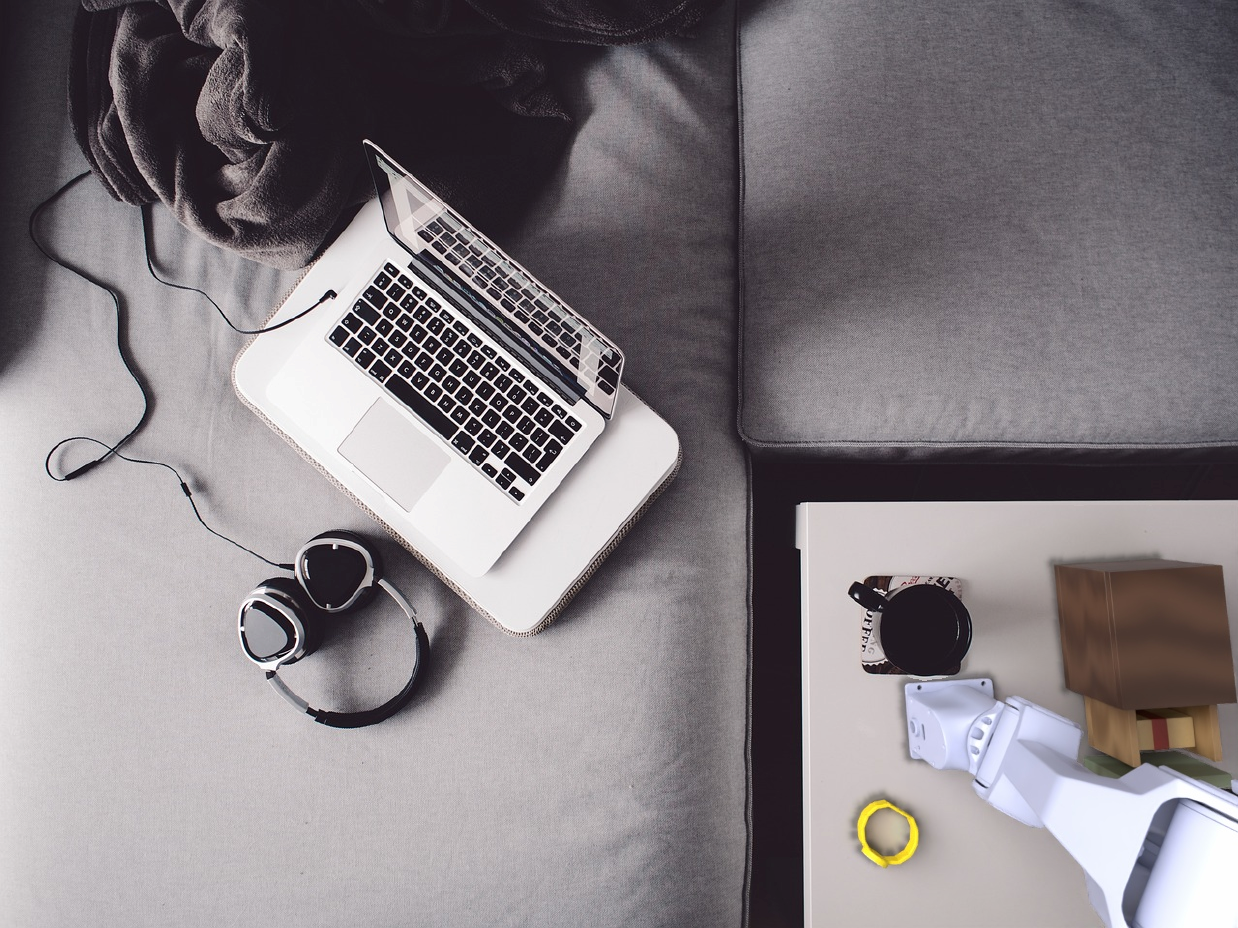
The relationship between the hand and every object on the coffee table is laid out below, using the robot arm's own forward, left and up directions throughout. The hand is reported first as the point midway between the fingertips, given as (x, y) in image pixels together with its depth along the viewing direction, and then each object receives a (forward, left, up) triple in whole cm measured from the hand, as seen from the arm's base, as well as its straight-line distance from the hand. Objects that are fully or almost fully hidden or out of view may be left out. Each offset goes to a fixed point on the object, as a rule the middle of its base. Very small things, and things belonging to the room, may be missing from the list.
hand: (1178, 827), depth 64 cm
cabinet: (+3, +17, -10) cm, 20 cm away
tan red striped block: (+3, +7, -8) cm, 11 cm away
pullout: (+3, +6, -10) cm, 12 cm away
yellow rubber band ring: (-22, -1, -9) cm, 24 cm away
